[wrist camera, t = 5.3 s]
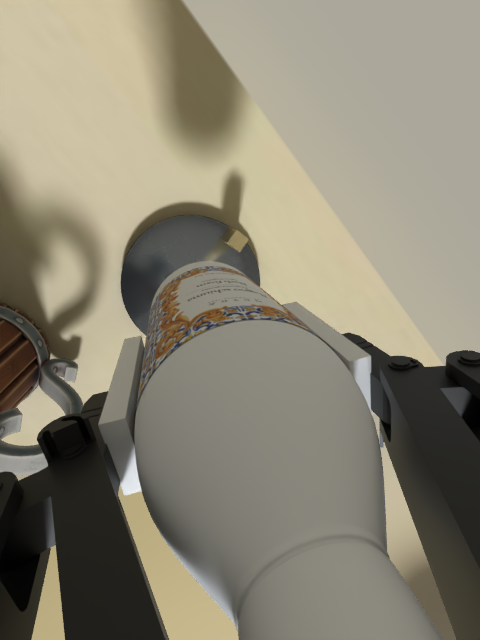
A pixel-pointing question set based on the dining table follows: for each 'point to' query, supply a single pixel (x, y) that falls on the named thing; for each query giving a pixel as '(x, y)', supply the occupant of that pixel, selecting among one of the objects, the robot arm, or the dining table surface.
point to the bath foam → (266, 466)
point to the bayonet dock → (179, 258)
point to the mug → (28, 385)
